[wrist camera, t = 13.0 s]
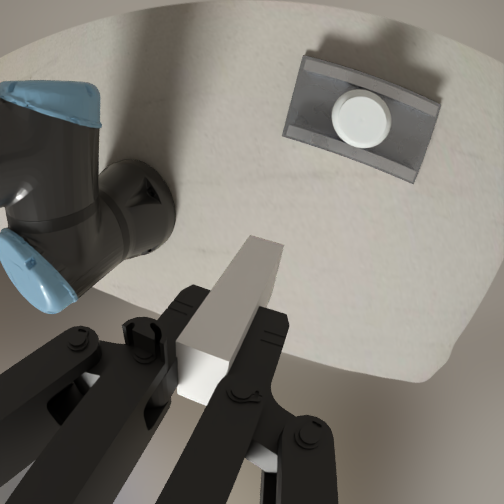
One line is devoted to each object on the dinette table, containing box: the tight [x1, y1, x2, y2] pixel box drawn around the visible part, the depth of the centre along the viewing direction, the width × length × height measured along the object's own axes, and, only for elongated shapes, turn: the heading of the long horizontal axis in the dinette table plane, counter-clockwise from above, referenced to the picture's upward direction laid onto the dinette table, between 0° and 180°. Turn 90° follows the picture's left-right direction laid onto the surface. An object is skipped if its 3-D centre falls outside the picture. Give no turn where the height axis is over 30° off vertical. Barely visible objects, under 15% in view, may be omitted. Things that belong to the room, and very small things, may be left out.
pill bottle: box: [332, 89, 391, 148], centre depth 25 cm, size 5×5×10 cm
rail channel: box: [282, 55, 441, 184], centre depth 28 cm, size 16×10×4 cm, turn 78°
